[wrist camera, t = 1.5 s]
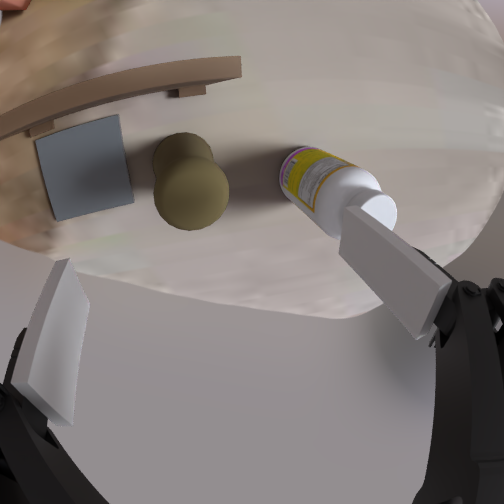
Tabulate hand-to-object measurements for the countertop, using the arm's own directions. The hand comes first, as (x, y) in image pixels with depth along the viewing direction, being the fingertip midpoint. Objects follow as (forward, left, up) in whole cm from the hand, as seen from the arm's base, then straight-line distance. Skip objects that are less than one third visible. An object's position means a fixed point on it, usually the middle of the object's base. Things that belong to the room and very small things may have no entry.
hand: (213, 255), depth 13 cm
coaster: (-2, -10, -17) cm, 20 cm away
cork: (0, 0, -17) cm, 17 cm away
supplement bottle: (+3, +13, -17) cm, 22 cm away
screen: (-8, -6, -17) cm, 20 cm away
